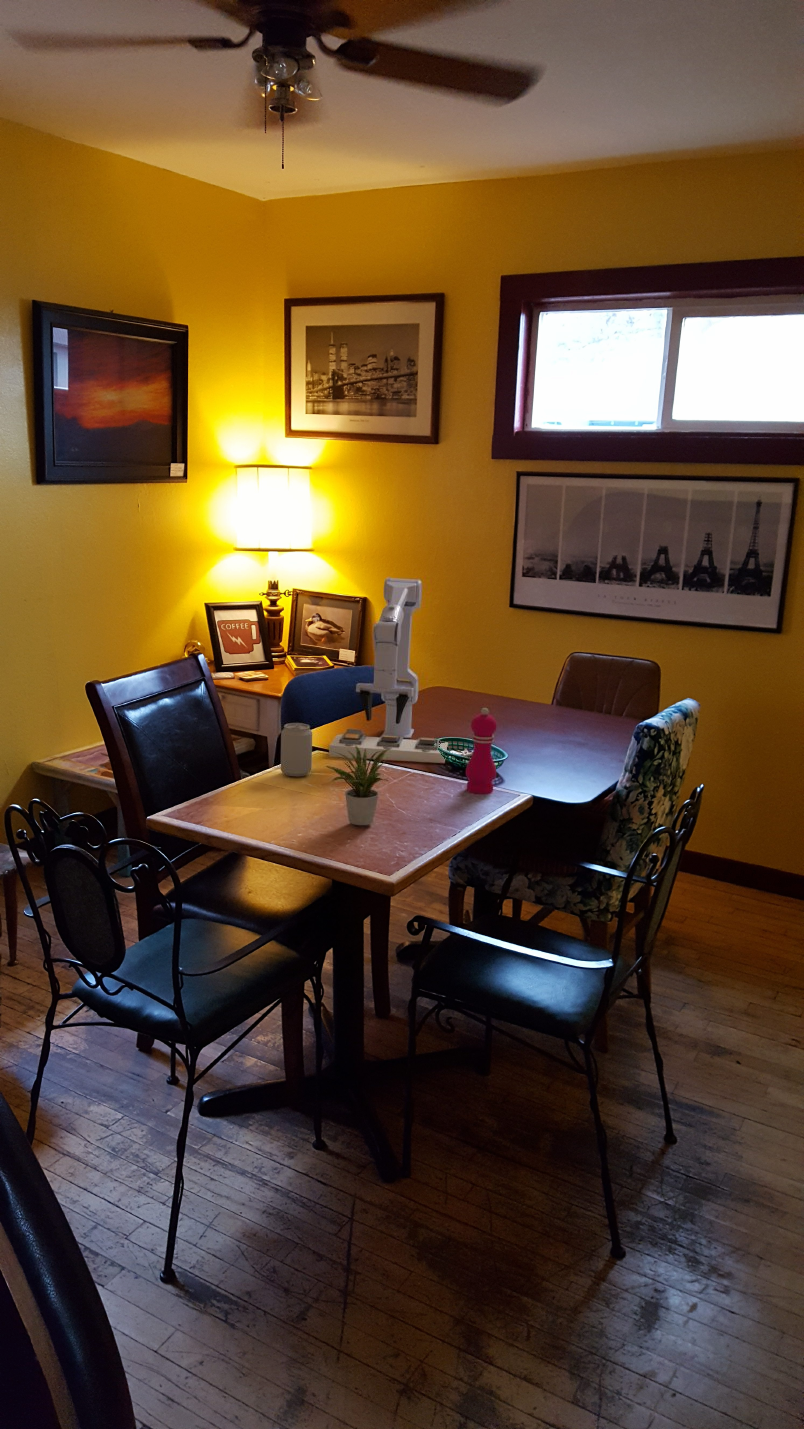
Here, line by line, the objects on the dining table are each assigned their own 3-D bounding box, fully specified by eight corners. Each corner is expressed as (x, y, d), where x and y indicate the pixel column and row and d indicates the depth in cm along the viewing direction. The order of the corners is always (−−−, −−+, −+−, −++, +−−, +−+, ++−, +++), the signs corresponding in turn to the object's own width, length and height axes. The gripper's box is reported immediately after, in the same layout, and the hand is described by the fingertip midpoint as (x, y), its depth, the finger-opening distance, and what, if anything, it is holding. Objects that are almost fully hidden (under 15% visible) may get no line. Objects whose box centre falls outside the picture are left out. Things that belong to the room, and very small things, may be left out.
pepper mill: (496, 795, 238) (501, 712, 233) (465, 794, 238) (470, 710, 233) (494, 786, 245) (499, 705, 240) (463, 785, 245) (468, 703, 240)
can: (275, 775, 246) (276, 726, 244) (287, 767, 253) (288, 720, 251) (304, 778, 244) (305, 730, 242) (315, 771, 251) (317, 723, 249)
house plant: (360, 804, 227) (363, 733, 223) (409, 819, 218) (412, 745, 215) (316, 818, 216) (317, 744, 212) (365, 835, 207) (367, 757, 204)
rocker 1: (347, 732, 273) (347, 728, 273) (362, 733, 273) (362, 729, 273) (343, 741, 268) (343, 737, 267) (358, 742, 267) (358, 738, 267)
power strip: (337, 745, 277) (337, 731, 276) (490, 756, 272) (491, 742, 271) (329, 756, 265) (329, 741, 264) (489, 768, 261) (490, 753, 260)
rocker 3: (421, 741, 271) (421, 737, 271) (436, 742, 271) (436, 738, 271) (419, 743, 265) (419, 739, 265) (434, 744, 265) (434, 740, 265)
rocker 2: (384, 738, 272) (384, 734, 272) (399, 739, 272) (399, 735, 272) (381, 740, 266) (381, 736, 266) (396, 741, 266) (396, 737, 266)
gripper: (353, 669, 254) (351, 722, 258) (410, 674, 251) (407, 727, 254) (361, 664, 261) (359, 716, 264) (416, 669, 258) (413, 721, 261)
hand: (383, 721), depth 260 cm, fingers open, 7 cm apart
